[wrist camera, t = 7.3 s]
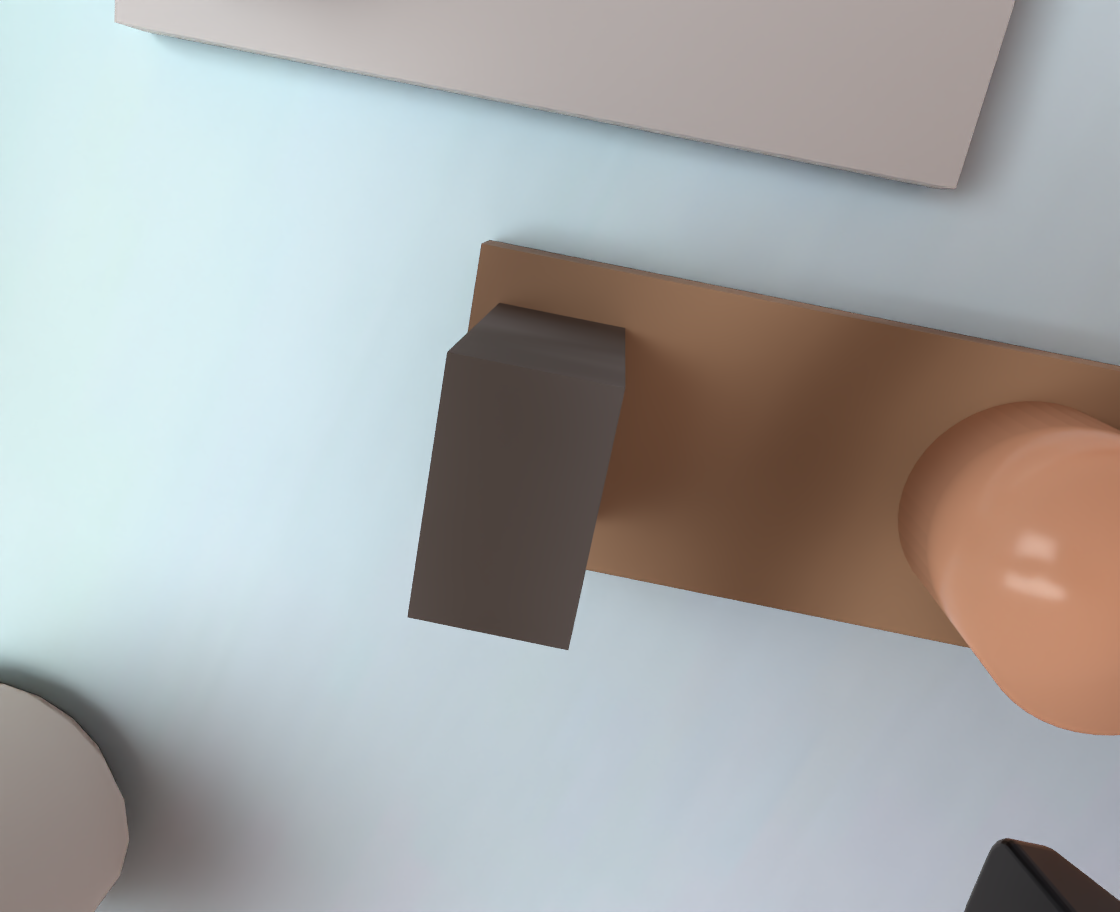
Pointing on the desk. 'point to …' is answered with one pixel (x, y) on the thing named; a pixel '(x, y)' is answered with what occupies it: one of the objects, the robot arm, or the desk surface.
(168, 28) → the grey strip
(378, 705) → the desk surface
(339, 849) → the desk surface
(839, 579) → the walnut strip
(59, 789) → the can
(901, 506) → the peach rounded knob
